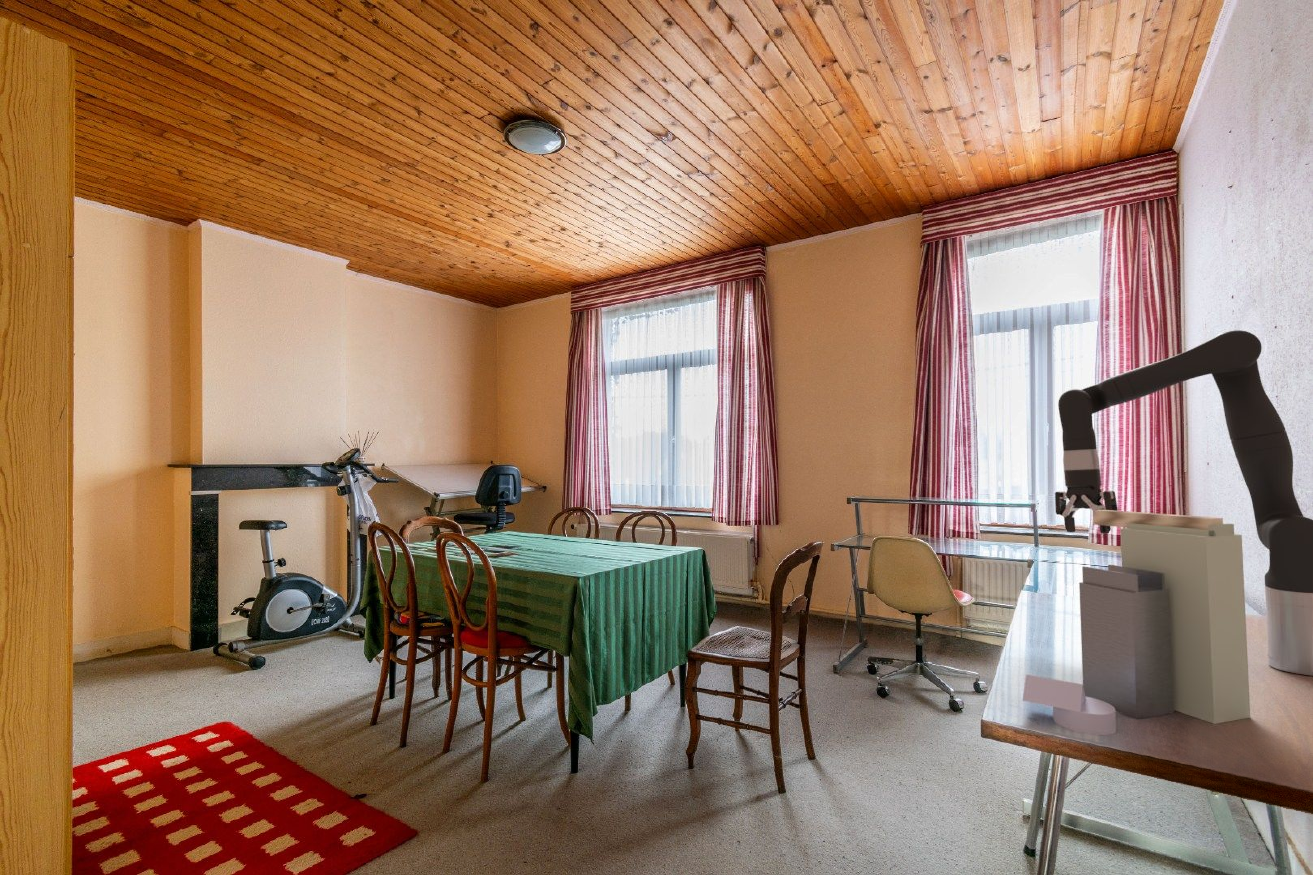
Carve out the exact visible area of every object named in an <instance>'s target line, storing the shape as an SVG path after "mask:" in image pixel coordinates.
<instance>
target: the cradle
mask: <svg viewBox="0 0 1313 875" xmlns="http://www.w3.org/2000/svg"><path fill="white" fill-rule="evenodd" d="M1107 567H1108V568H1107V569H1102V568H1095V567H1091V566H1090V567H1089V566H1082V567H1081V568H1082V581H1081V582H1079V584H1078V585H1079V607H1080V608H1079V611H1080V615H1079V616H1080V638H1081V639H1080V640H1081V666H1082V667H1081V668H1082V685H1083V688H1084V692H1085V696H1086V697H1091V698H1095V699H1098V700H1101V701H1104V702H1106V703H1108V704H1110V705H1112V706H1113V707H1114V708H1115V712H1117V713H1120V714H1122V715H1125V716H1128V717H1130V718H1132V719H1136V720H1140V719H1145V718H1152V717H1158V716H1163V715H1164V716H1165V715H1170V714H1175V710H1174V702H1173V678H1172V654H1171V631H1170V607H1169V589H1165V575H1164V573H1161V572H1154V571H1148V570H1141V569H1135V568H1129V567H1122V565H1115V564H1108V565H1107Z"/></svg>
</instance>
